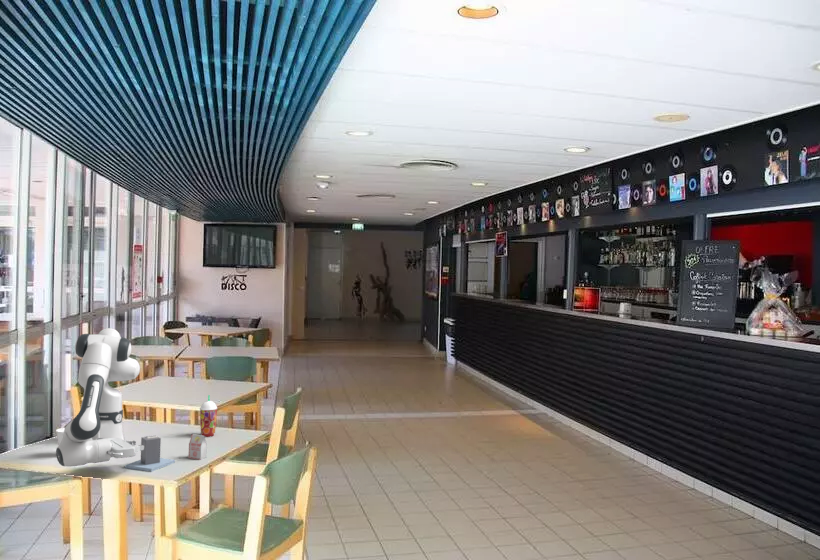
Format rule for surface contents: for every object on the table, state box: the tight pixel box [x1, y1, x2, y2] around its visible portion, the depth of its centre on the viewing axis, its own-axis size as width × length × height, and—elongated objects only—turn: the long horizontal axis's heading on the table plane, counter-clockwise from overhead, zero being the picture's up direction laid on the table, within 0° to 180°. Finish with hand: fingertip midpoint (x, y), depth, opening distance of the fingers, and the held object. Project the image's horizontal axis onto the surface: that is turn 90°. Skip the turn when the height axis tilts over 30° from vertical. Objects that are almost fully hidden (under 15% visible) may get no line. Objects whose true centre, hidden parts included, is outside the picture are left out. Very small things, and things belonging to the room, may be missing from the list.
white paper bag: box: [188, 433, 208, 461], centre depth 275 cm, size 4×7×10 cm, turn 66°
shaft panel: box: [124, 457, 176, 473], centre depth 262 cm, size 13×14×8 cm
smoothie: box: [199, 394, 218, 438], centre depth 314 cm, size 8×8×20 cm
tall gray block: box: [140, 435, 162, 465], centre depth 262 cm, size 6×6×10 cm
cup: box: [55, 427, 65, 446], centre depth 274 cm, size 10×10×11 cm
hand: (139, 445), depth 258 cm, fingers open, 8 cm apart
